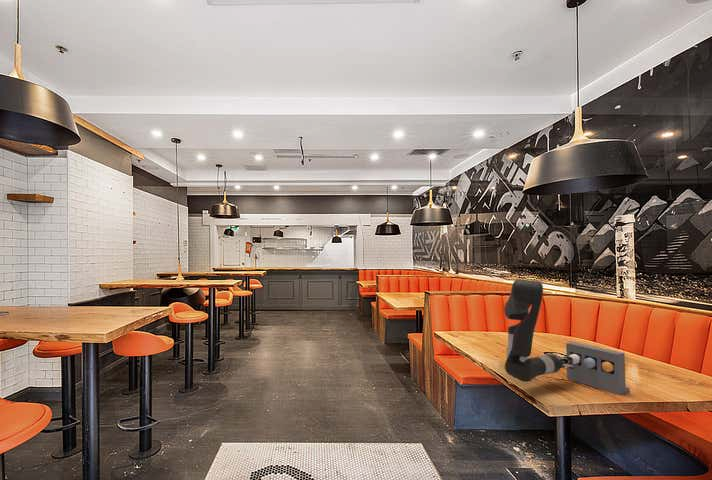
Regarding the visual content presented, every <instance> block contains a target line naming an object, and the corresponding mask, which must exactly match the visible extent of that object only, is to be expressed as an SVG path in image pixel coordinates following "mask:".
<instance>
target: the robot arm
mask: <svg viewBox="0 0 712 480" xmlns="http://www.w3.org/2000/svg"><path fill="white" fill-rule="evenodd" d="M543 296H544V287H543V283H542V282H540V281H535V280H529V279H522V278H521V279H520V278H519V279H516V280H514V281H513V283H512V285H511V290H510V294H509V297H508V300H507V301H506V302H505V304H504V315H505V317H506V318H507V319H508V320H514V321H516V320H517V321H519V322H518V323H516V324H514V325H510V326H508V327H507V347H506V348H505V349H506V350H505V351H506V361H505V364H504V369H505V371H506V373H507V374H508V375H509V376H511V377H513V378H514V379H517V380H518V381H521V382H524V383H529V382H531V381H533V379H535V378H536V377H537V376H542V375H543V376H545V375H546V376H547V375H550V374H555V373H558V372H559V371H560V370H561V369H562V368H563V369H564V368H567V366H568V368H570V369H573V359H572V357H567V356H566V357H565V356H558V355H554V354H552V353H548V354H542V355H537V356H535V357H531V353H532V348H533V341H534V340H533V339H534V333H535V328H536V325H537V321H538V318H539V314H540V310H541V306H542V301H543Z"/></svg>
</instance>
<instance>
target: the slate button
mask: <svg viewBox="0 0 712 480" xmlns="http://www.w3.org/2000/svg"><path fill="white" fill-rule="evenodd" d="M584 365H585V366H586V367H588V368H593V367H596V366H597V361H596V359H594V358H592V357H590V358H586V359H584Z"/></svg>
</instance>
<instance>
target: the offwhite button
mask: <svg viewBox="0 0 712 480" xmlns="http://www.w3.org/2000/svg"><path fill="white" fill-rule="evenodd" d="M569 357H572V359H573V364H576V363H580V362H581V356H580V355H579V354H571V355H569Z"/></svg>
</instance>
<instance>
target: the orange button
mask: <svg viewBox="0 0 712 480" xmlns="http://www.w3.org/2000/svg"><path fill="white" fill-rule="evenodd" d="M602 368H603V370H604V371H606V372H611V371H614V363H613V362H611V361H607V362H603V363H602Z"/></svg>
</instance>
